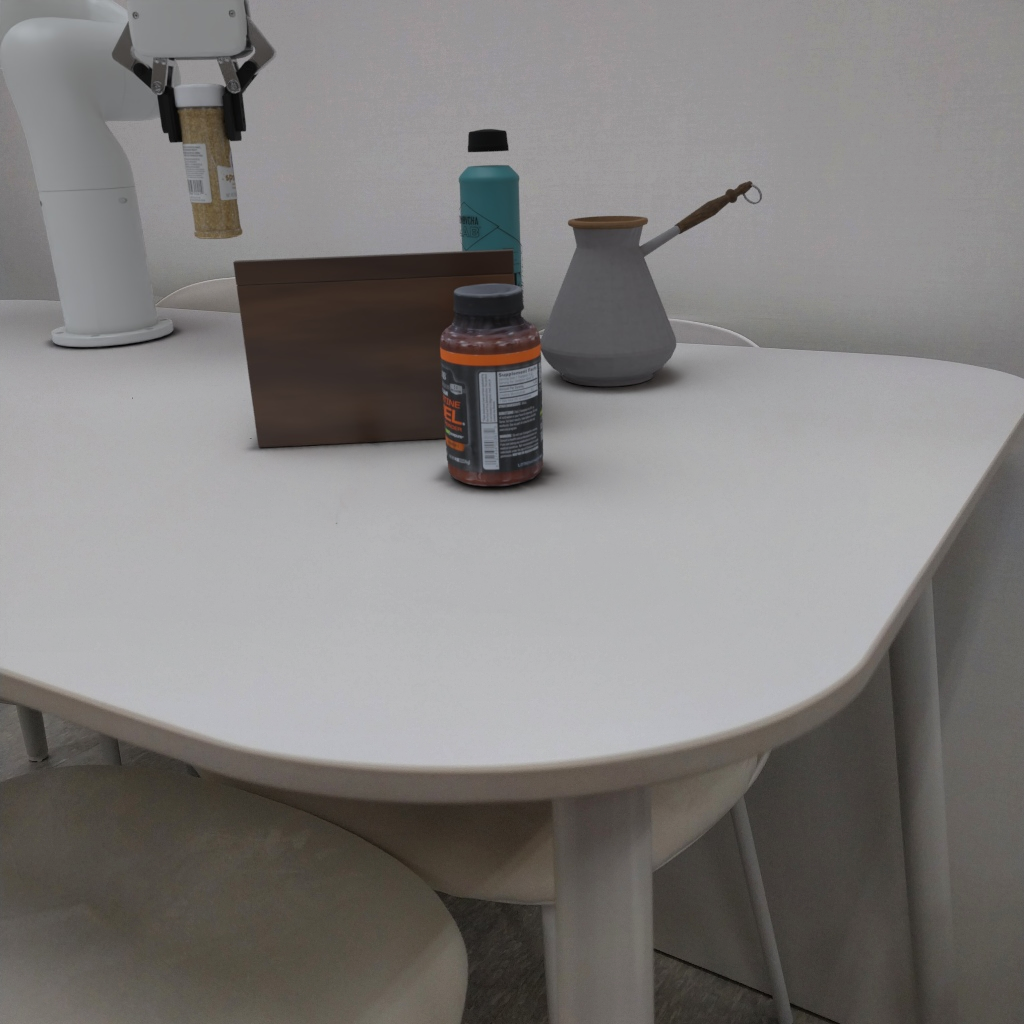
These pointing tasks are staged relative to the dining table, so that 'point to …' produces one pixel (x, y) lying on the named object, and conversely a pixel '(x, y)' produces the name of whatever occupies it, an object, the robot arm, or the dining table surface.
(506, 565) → the dining table surface
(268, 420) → the shelf
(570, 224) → the coffee pot
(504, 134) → the beverage bottle
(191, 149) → the spice jar
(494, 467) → the supplement bottle
